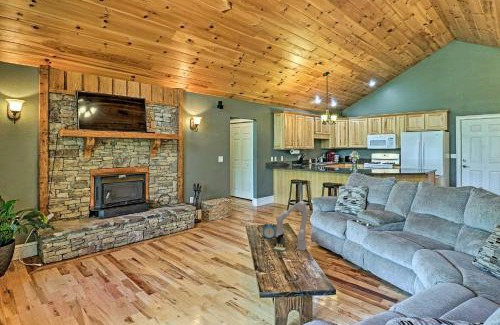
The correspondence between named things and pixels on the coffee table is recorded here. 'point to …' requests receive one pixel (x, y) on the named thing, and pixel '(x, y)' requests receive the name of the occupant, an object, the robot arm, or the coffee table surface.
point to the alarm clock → (269, 230)
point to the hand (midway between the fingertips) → (279, 242)
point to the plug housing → (280, 241)
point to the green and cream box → (279, 248)
